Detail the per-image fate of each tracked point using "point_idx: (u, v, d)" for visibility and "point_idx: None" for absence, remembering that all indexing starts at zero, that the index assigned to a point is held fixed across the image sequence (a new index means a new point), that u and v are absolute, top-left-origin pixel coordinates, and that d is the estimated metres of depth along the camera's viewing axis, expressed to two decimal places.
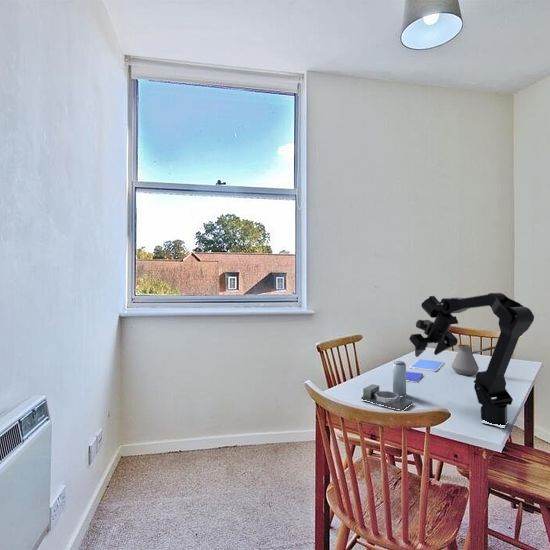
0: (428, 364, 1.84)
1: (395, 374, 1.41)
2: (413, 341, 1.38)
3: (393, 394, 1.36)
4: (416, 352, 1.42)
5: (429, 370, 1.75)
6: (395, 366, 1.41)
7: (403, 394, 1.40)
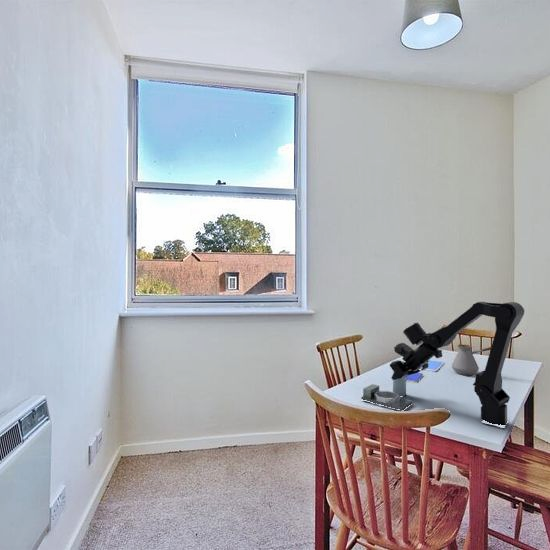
0: (428, 364, 1.84)
1: None
2: (395, 369, 1.33)
3: (393, 394, 1.36)
4: (394, 376, 1.40)
5: (429, 370, 1.75)
6: None
7: (403, 394, 1.40)
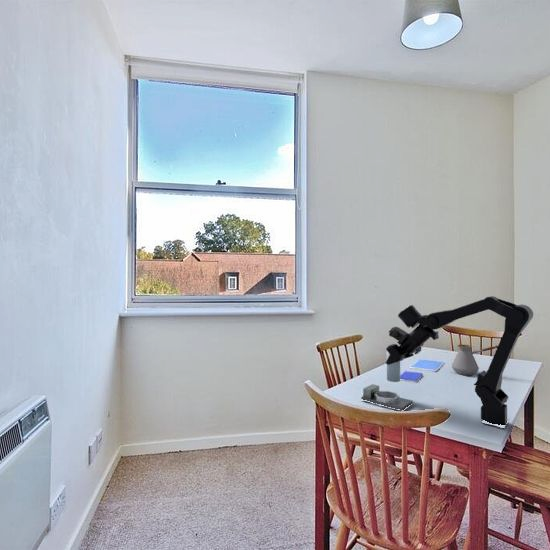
0: (428, 364, 1.84)
1: None
2: (392, 353, 1.30)
3: (393, 394, 1.36)
4: (389, 360, 1.37)
5: (429, 370, 1.75)
6: None
7: (398, 379, 1.38)
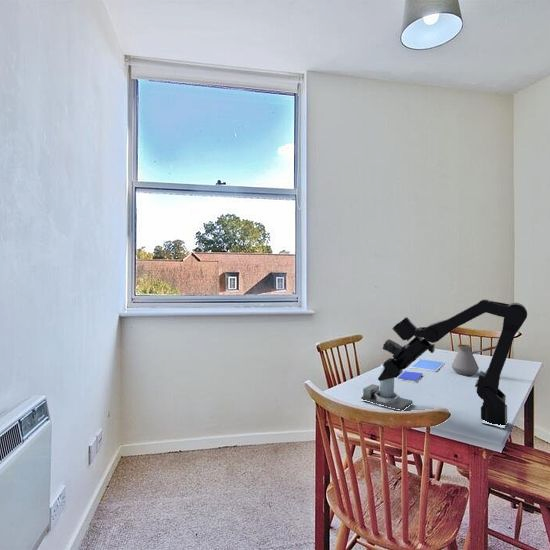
0: (428, 364, 1.84)
1: None
2: (390, 368, 1.24)
3: None
4: (382, 376, 1.30)
5: (429, 370, 1.75)
6: None
7: (392, 397, 1.33)
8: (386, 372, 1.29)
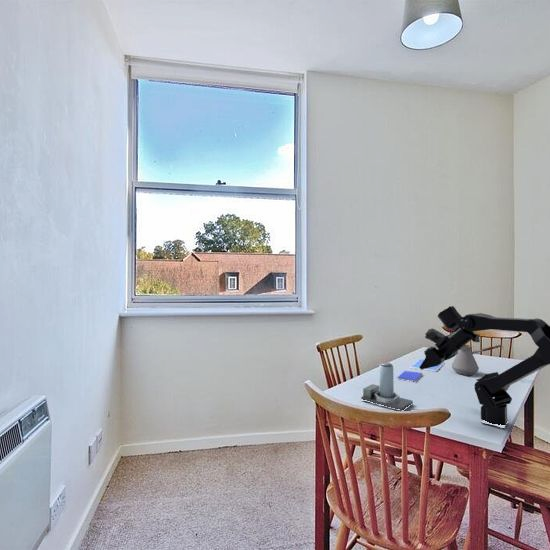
0: None
1: (384, 377, 1.32)
2: (431, 356, 1.24)
3: None
4: (423, 365, 1.29)
5: (429, 370, 1.75)
6: (384, 369, 1.32)
7: (392, 397, 1.33)
8: (428, 361, 1.28)
